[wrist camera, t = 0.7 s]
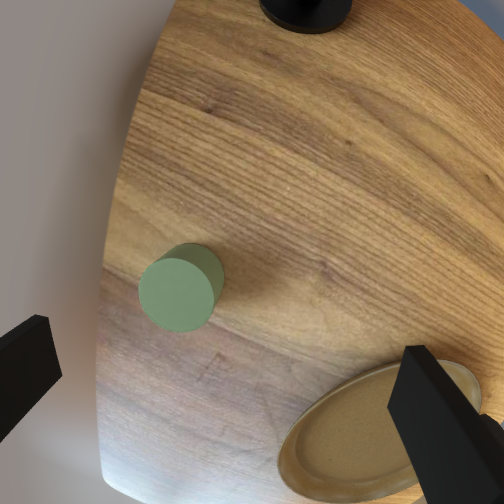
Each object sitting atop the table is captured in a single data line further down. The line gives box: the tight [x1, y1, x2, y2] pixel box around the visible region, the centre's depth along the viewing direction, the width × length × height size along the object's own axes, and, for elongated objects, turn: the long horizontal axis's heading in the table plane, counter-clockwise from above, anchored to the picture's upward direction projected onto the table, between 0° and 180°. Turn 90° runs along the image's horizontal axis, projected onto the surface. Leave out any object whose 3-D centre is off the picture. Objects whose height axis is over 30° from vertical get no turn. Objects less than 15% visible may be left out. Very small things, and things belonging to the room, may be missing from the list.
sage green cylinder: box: [139, 243, 224, 332], centre depth 24 cm, size 6×6×5 cm
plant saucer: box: [277, 359, 482, 504], centre depth 28 cm, size 24×24×3 cm
